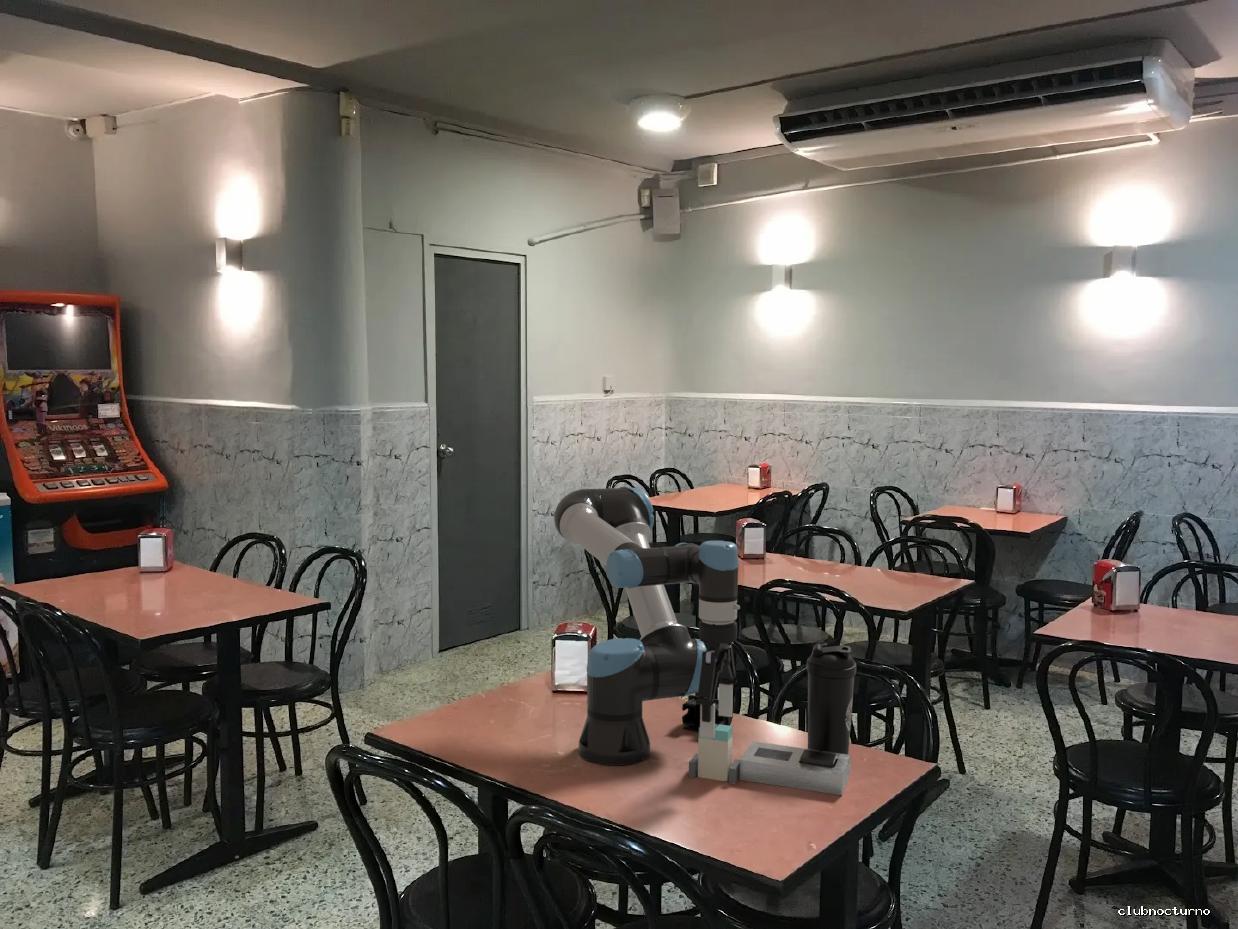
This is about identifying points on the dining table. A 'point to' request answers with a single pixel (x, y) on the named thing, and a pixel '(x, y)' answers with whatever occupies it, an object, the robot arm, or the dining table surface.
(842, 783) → the panel
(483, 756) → the dining table surface
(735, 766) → the pair of grey blocks
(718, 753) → the plug
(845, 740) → the water bottle
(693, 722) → the end cap
